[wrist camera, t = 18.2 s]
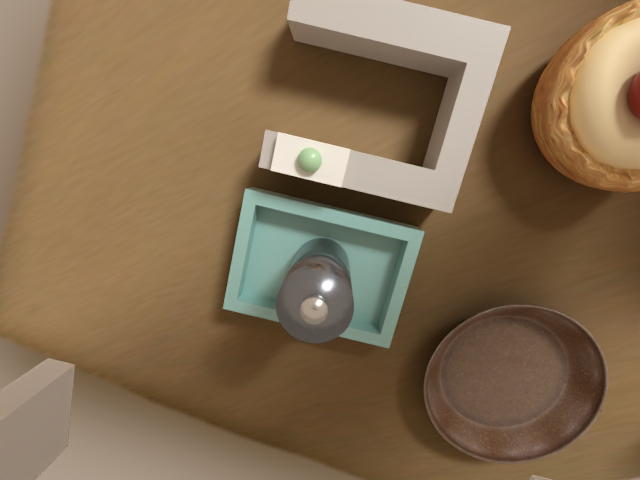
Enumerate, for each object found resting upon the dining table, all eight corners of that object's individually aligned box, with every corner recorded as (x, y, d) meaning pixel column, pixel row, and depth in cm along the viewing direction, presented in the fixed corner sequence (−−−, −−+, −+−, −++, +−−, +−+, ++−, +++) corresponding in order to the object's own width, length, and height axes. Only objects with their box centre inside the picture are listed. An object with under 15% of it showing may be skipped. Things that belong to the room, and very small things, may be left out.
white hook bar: (301, 3, 26) (293, -36, 21) (485, 47, 26) (520, 19, 21) (269, 166, 29) (254, 167, 24) (436, 206, 29) (456, 215, 24)
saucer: (387, 397, 33) (391, 418, 30) (475, 263, 30) (489, 273, 27) (521, 465, 34) (537, 491, 31) (621, 342, 31) (647, 358, 28)
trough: (252, 186, 29) (245, 188, 27) (417, 226, 29) (424, 231, 27) (231, 297, 31) (222, 308, 29) (384, 334, 31) (389, 348, 29)
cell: (300, 232, 29) (282, 264, 19) (354, 244, 29) (363, 283, 19) (289, 284, 30) (266, 338, 20) (341, 296, 30) (343, 356, 20)
